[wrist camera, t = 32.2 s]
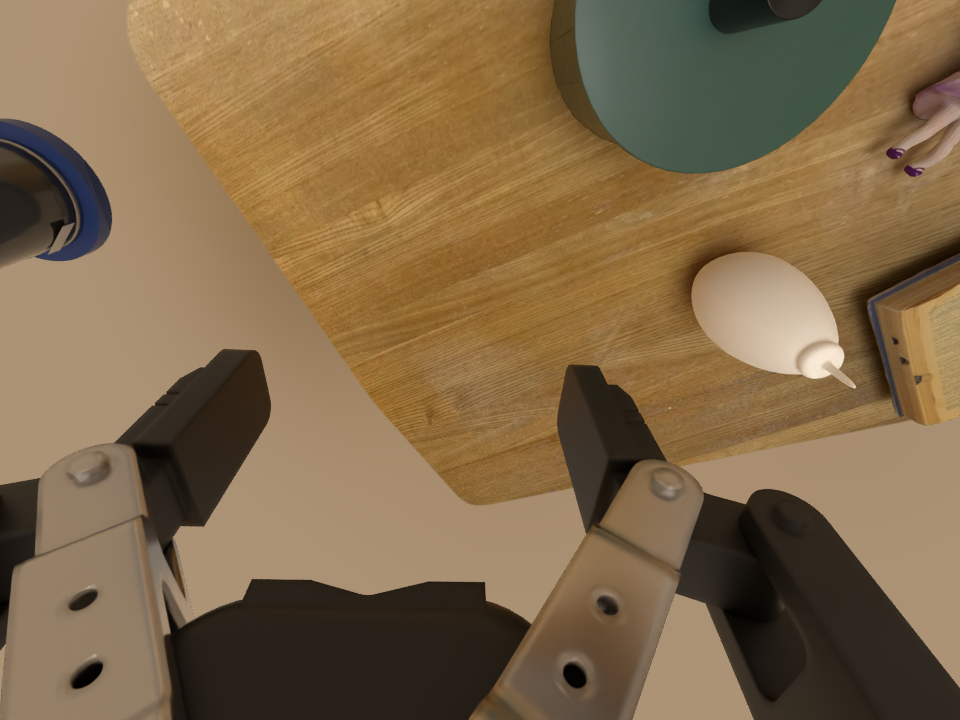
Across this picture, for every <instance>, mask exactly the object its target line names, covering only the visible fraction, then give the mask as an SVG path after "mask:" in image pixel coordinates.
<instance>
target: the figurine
mask: <svg viewBox="0 0 960 720" xmlns="http://www.w3.org/2000/svg"><path fill="white" fill-rule="evenodd" d="M913 113H914V115H915V116H916V117H918V118H921V119H928V122H927V123H926V124H925V125H924V126H922V127H921V128H919V129H917V130H916V131H914V132H912V133H910V134H909V135H907V136H905V137H904V138H903V139H901V140H900V141H899V142H898V143H896V144H895V145H894V146H892V147H891V148H889V149H888V150H887V151H886V154H887V156H888V157H889V158H891V159H898V158H900V157H901V156H902V154H903V153H904V152H905V151H906V150H907V149H909V148H911V147H912V146H914V145H917V144H919V143H921V142H923V141H925V140H927V139H928V138H930V137H931V136H933V135H934V134H935V133H937V132H938V131H939V130H941V129H942V128H944V127H946V126H947V125H949V126H948V128H947V129H946V131H945V132H944V134H943V136H942V137H941V139H940V141H939V142H938V144H937V145H936V146H934V147H933V148H932V149H931V150H930V151H929V152H928V153H927V154H926V155H925V156H924V157H922V158H920V159H919V160H917V161H915V162H913V163H911V164H909V165H907V166H906V167H905V168H904V171H905V172H906V173H907V174H908V175H909V176H911V177H915V176H919V175H921V174H922V172H923V170H924V169H926V168H928V167H930V166H932V165H934V164H936V163H939V162H940V161H941V160H943V159H944V158H945V157H946V156H948V155H949V153H950V152H951V150H952V148H953V147H954V145H955V144H956V143H958V142H959V141H960V71H959V72H956V73H954V74H952V75H951V76H949V77H948V78H946V79H944V80H942V81H940V82H938V83H936V84H933V85H931V86H929V87H927V88H925V89H924V90H922V91H920V92H918V93H917V95H916V98H915V101H914V103H913Z"/></svg>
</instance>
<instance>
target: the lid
mask: <svg viewBox="0 0 960 720" xmlns="http://www.w3.org/2000/svg"><path fill="white" fill-rule="evenodd" d="M895 2H896V0H574V7H573V43H574V51H575V59H576V65H577V69H578V73H579V77H580V81H581V85H582V88H583V91H584V93H585V96H586V98H587V101H588V103H589V106H590V107H591V109H592V111H593V113H594V115H595V116H596V118H597V120H598V122H599V123H600V124H601V126H602V127H603V128H604V130H605V131H606V132H607V134H608V135H609V136H610V137H611V138H612V139H613V140H614V141H615V142H616V143H617V144H618V145H619V146H620V147H621V148H622V149H624V150H625V151H626V152H628V153H629V154H631V155H632V156H634V157H635V158H637V159H639V160H641V161H643V162H645V163H647V164H649V165H651V166H654V167H657V168H660V169H664V170H667V171H672V172H679V173H686V174H689V173H710V172H717V171H723V170H727V169H730V168H734V167H738V166H741V165H744V164H746V163H748V162H751V161H753V160H756V159H758V158H760V157H762V156H764V155H766V154H768V153H770V152H772V151H774V150H775V149H777V148H779V147H780V146H782V145H783V144H785V143H786V142H788V141H789V140H791V139H792V138H794V137H795V136H797V135H798V134H799V133H800V132H802V131H803V130H804V129H805V128H806V127H808V126H809V125H810V124H811V123H813V122H814V121H815V120H816V119H817V118H818V117H819V116H820V115H821V114H822V113H823V112H824V111H825V110H826V109H827V108H828V107H829V106H830V105H831V104H832V103H833V102H834V101H835V100H836V99H837V97H838V96H839V95H840V94H841V93H842V92H843V90H844V89H845V88H846V87H847V86H848V85H849V83H850V82H851V80H852V79H853V78H854V76H855V75H856V73H857V72H858V71H859V69H860V68H861V67H862V65H863V64H864V62H865V61H866V59H867V57H868V56H869V54H870V52H871V51H872V49H873V47H874V46H875V44H876V42H877V41H878V39H879V37H880V35H881V33H882V31H883V29H884V27H885V25H886V23H887V21H888V19H889V17H890V15H891V12H892V10H893V7H894V5H895Z"/></svg>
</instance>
